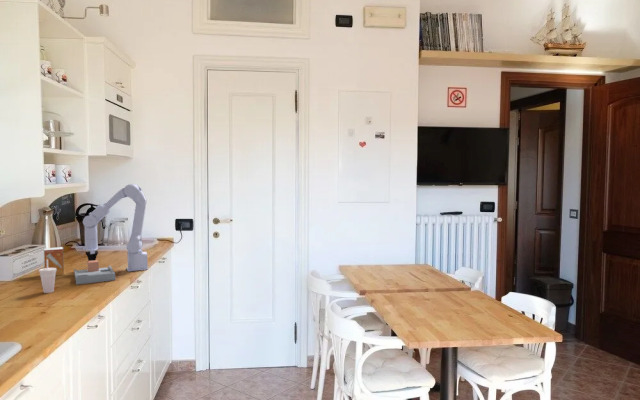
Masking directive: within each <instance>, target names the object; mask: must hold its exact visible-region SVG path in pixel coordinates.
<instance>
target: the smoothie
mask: <svg viewBox="0 0 640 400" xmlns="http://www.w3.org/2000/svg"><path fill="white" fill-rule="evenodd" d="M56 271H57V270H56V268H48V259H47V268H40V269H38V273H39V276H40V281H41V285H42V290H43V293H44V294H51V293H54V291H55V281H56V276H55V275H56Z"/></svg>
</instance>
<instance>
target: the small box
mask: <svg viewBox="0 0 640 400" xmlns="http://www.w3.org/2000/svg"><path fill="white" fill-rule="evenodd" d="M47 259H48V268H56V270H57V271H56V275H55V277H56V276H64V275H65V269H64V268H65V262H64V247H63V246H59V247H46V248H43V267H44V268H47ZM44 268H43V269H44Z"/></svg>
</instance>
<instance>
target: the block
mask: <svg viewBox="0 0 640 400" xmlns="http://www.w3.org/2000/svg"><path fill="white" fill-rule="evenodd" d="M99 268H100V263H99V260H98V259H96V260H93V261H87V269H88V272H92V271H99Z"/></svg>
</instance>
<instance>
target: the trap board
mask: <svg viewBox="0 0 640 400" xmlns="http://www.w3.org/2000/svg"><path fill="white" fill-rule="evenodd" d="M73 272H74V278H75V284H76V285H86V284H94V283H95V284H96V283H103V282H104V281H105V282H111V281H116V272H115V271H114V269H113V268H112V266H111V265H108V266H107V267H99V271H92V272H88V268H87V269H79V270H78V269H77V268H74V269H73Z"/></svg>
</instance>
